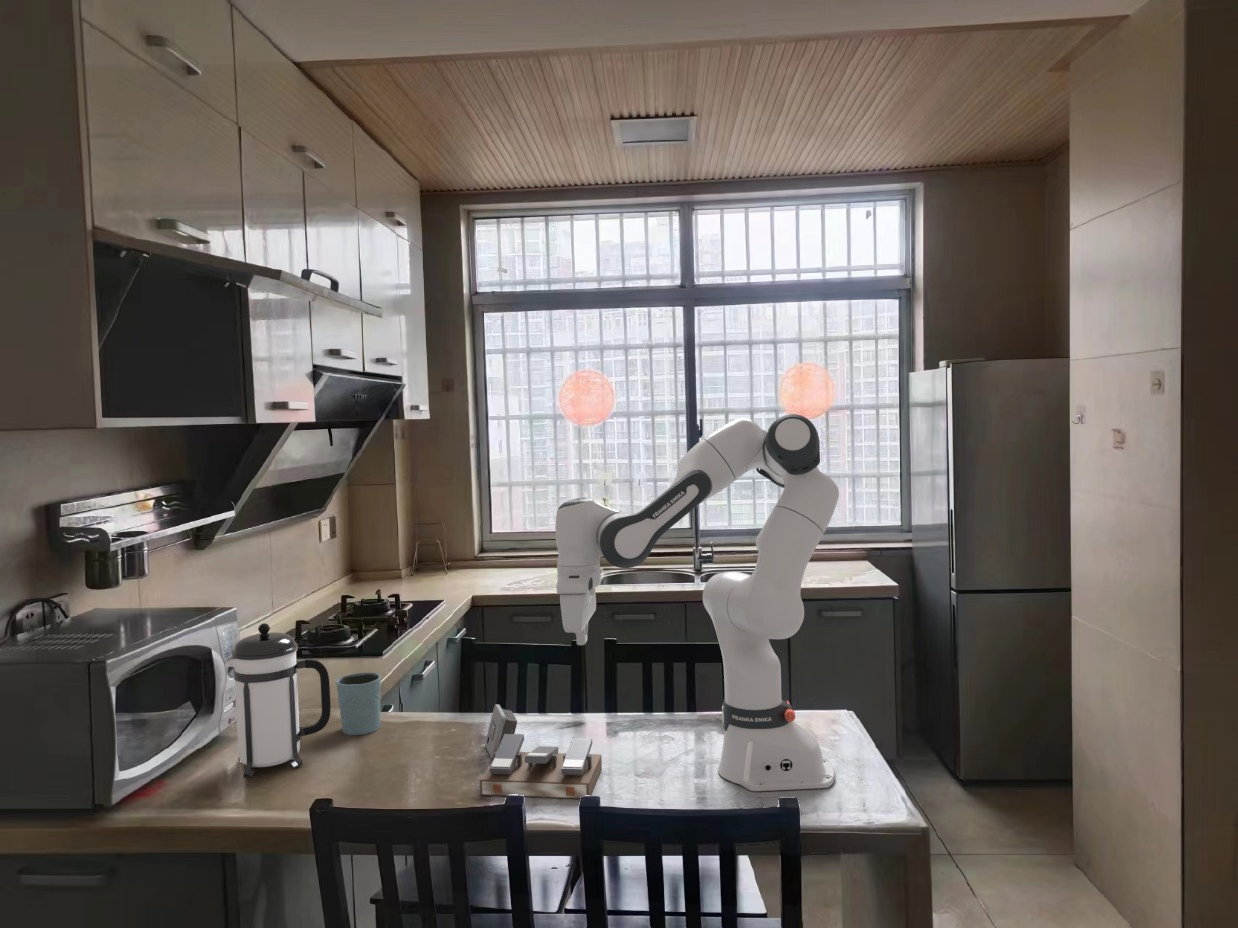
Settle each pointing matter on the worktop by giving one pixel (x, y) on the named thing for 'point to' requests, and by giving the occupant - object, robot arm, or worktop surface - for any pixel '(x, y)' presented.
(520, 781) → the switch unit
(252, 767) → the coffee press
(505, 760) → the rocker
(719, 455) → the robot arm
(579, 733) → the worktop surface
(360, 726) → the blue embossed cup
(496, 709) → the electrical switch
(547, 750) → the rocker middle
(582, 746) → the rocker
